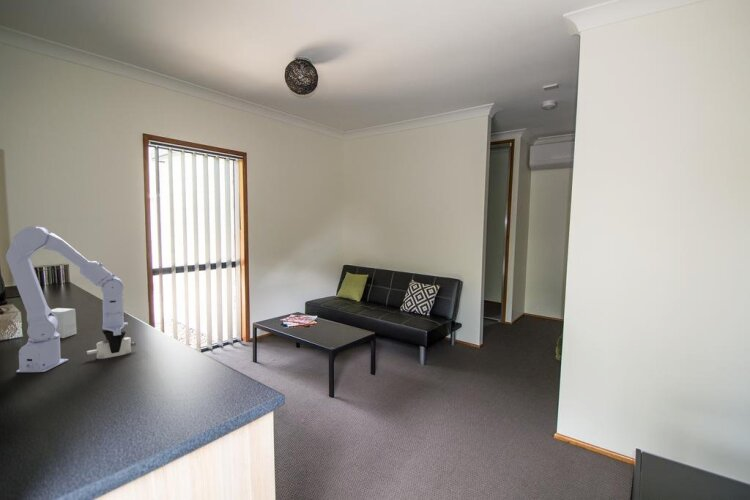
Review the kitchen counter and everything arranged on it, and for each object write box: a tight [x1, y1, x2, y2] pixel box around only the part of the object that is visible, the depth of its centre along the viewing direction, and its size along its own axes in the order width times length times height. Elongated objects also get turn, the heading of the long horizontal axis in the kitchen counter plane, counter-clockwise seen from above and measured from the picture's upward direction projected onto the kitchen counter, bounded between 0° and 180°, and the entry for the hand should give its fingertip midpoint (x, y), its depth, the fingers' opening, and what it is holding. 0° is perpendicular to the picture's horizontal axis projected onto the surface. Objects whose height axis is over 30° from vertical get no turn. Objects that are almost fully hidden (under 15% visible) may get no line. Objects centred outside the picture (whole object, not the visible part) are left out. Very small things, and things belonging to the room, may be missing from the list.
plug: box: [86, 336, 137, 360], centre depth 120 cm, size 14×4×5 cm, turn 135°
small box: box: [51, 307, 77, 339], centre depth 138 cm, size 8×6×10 cm
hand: (114, 350), depth 121 cm, fingers closed on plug, 3 cm apart
